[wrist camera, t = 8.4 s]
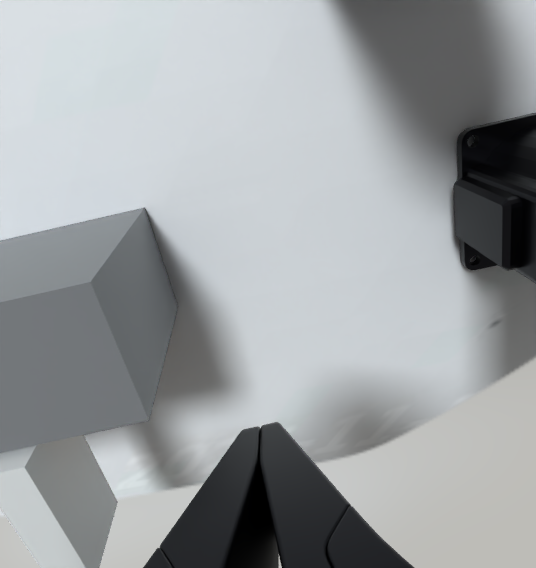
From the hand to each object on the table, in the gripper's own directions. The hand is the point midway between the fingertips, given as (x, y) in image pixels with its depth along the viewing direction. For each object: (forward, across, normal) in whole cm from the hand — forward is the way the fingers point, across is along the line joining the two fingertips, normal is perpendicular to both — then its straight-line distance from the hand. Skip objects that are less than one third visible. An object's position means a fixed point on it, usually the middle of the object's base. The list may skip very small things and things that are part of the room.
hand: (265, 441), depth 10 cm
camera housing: (+12, -8, +1) cm, 14 cm away
